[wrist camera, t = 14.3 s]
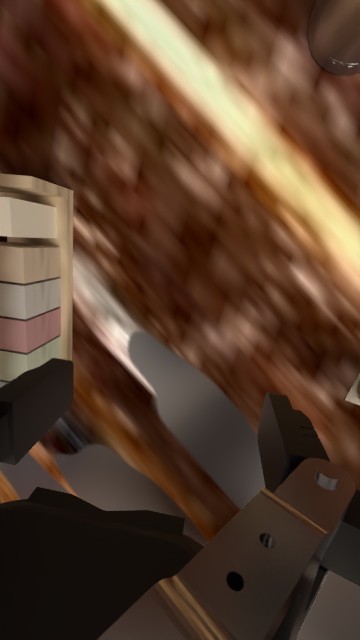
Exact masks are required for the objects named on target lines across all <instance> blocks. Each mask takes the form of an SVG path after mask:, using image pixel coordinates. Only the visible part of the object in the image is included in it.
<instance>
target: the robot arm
mask: <svg viewBox="0 0 360 640" xmlns="http://www.w3.org/2000/svg"><path fill="white" fill-rule="evenodd" d="M308 42H309V47H310V51H311V53H312V55H313V58H314V59H315V60H316V62H317V63H318V64H319V65H320V66H321V67H322V68H323V69H325V70H326V71H328V72H330V73H333V74H337V75H353V74H356V73H359V72H360V0H316V3H315V5H314V8H313V11H312V13H311V16H310V20H309V26H308ZM72 399H73V362H72V361H71V360H65V359H59V358H52V359H50V360H49V361H47V362H46V363H44V364H43V365H41V366H40V367H37V368H34V369H31V370H28V371H25V372H24V373H22V374H21V375H19V376H18V377H17V378H16V379H13V380H12V381H10V382H9V384H5V385H4V386H2V387H1V388H0V462H3V463H8V464H13V465H16V464H17V463H18V462H19V461H20V460H21V458H23V457H24V455H25V454H26V453H27V452H28V451H29V450H30V449H31V448H32V447H33V446H34V445H35V444H36V443H37V442H38V441H39V440H40V438H41V437H42V436H43V435H44V434H45V433H46V432H47V431H48V430H49V429H50V428H51V427H52V426H53V425H54V424H55V422H56V421H57V420H58V419H59V418H60V417H61V416H62V415H63V414H64V413H65V412H66V411H67V410H68V408H69V407H70V405H71V402H72ZM258 446H259V452H260V457H261V463H262V469H263V475H264V481H265V486H266V488H264V489H262V490H261V491H260V492H259V493H258V494H257V495H256V496H255V497H254V498H253V499H252V500H251V501H250V502H249V503H248V504H247V505H246V506H245V507H244V508H243V509H242V510H241V511H240V512H239V513H238V514H237V515H236V516H235V517H234V518H233V519H232V520H231V521H230V522H229V523H228V524H227V525H226V526H225V527H224V528H223V529H222V530H221V531H220V532H219V533H218V534H217V535H216V536H215V537H214V538H213V539H212V540H211V541H210V542H209V543H208V544H207V545H206V546H203V545H202V544H201V543H200V542H199V541H197V540H196V539H194V538H193V537H191V536H189V535H187V534H185V533H184V532H183V528H184V520H185V518H181V517H177V516H172V515H167V514H163V513H158V512H153V511H148V510H136V511H104V510H102V509H99V508H97V507H96V506H94V505H92V504H90V503H88V502H86V501H84V500H82V499H80V498H78V497H76V496H74V495H72V494H68V493H64V492H59V491H54V490H50V489H44V488H40V487H37V488H36V489H35V490H34V491H33V493H32V494H31V495H30V497H29V498H28V499H23V500H15V501H10V502H5V503H2V504H0V640H296V639H297V637H298V634H299V632H300V630H301V627H302V625H303V623H304V621H305V619H306V617H307V615H308V613H309V611H310V609H311V607H312V605H313V603H314V601H315V599H316V597H317V595H318V593H319V591H320V589H321V587H322V585H323V583H324V581H325V579H326V577H327V575H328V573H329V571H332V572H334V573H336V574H338V575H340V576H342V577H344V578H345V579H348V580H349V581H351V582H353V583H355V584H357V585H359V586H360V491H358V490H356V486H355V483H354V481H353V479H352V478H351V476H350V475H349V474H348V473H347V472H346V471H345V470H343V469H342V468H341V467H339V466H337V465H336V464H334V463H332V462H330V460H329V458H328V456H327V454H326V451H325V449H324V447H323V445H322V443H321V441H320V439H319V438H318V435H317V433H316V431H315V430H314V427H313V425H312V423H311V421H310V419H309V418H308V417H307V416H306V415H305V414H303V413H302V412H301V411H300V410H294V409H292V406H291V404H290V401H289V399H288V397H287V395H281V394H275V393H268V392H267V393H266V395H265V399H264V404H263V409H262V414H261V419H260V424H259V430H258Z"/></svg>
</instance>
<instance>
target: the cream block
mask: <svg viewBox="0 0 360 640" xmlns="http://www.w3.org/2000/svg"><path fill="white" fill-rule="evenodd" d="M0 236H7V237H28V238H57V228H56V207H52V206H47V205H42V204H38V203H33V202H28V201H24V200H19V199H14V198H10V197H0Z"/></svg>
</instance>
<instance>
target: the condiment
mask: <svg viewBox="0 0 360 640" xmlns="http://www.w3.org/2000/svg"><path fill="white" fill-rule="evenodd" d="M345 400H346V401H349V402H352V403H355V404H357V405H360V374H359V375H358V377H357V379H356V381H355V382H354V384H353V386H352V387H351V389H350V391H349V393H348V395H347V396H346V399H345Z"/></svg>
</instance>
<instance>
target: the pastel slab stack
mask: <svg viewBox="0 0 360 640" xmlns="http://www.w3.org/2000/svg"><path fill="white" fill-rule="evenodd" d="M0 192H5V197H10V198H14V199H19V200H24V201H28V202H33V203H38V204H42V205H47V206H52V207H56V228H57V238H28V237H7V242H0V388H1V387H2V386H4V385H5V384H9V382H10V381H12V380H13V379H16V378H17V377H18V376H19V375H21V374H22V373H24V372H25V371H28V370H31V369H34V368H37V367H40V366H41V365H43V364H44V363H46V362H47V361H49V360H50V359H52V358H59V359H65V360H71V361H72V302H73V190H70V189H67V188H64V187H61V186H58V185H55V184H53V183H50V182H47V181H44V180H41V179H38V178H35V177H33V176H22V175H11V174H0Z"/></svg>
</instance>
